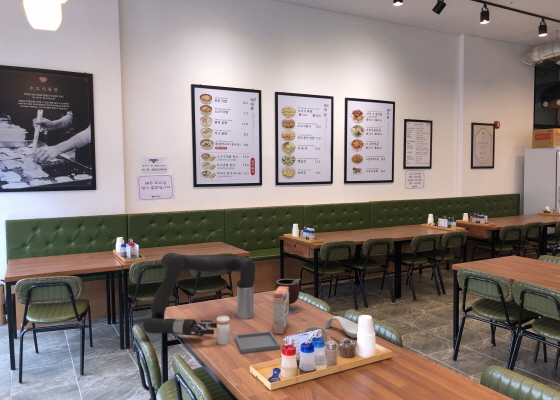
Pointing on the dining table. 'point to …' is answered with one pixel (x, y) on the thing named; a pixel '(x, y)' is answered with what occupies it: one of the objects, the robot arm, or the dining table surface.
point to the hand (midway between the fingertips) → (216, 328)
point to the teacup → (324, 331)
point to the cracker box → (280, 310)
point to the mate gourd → (290, 291)
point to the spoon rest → (344, 326)
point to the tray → (257, 342)
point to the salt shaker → (223, 330)
